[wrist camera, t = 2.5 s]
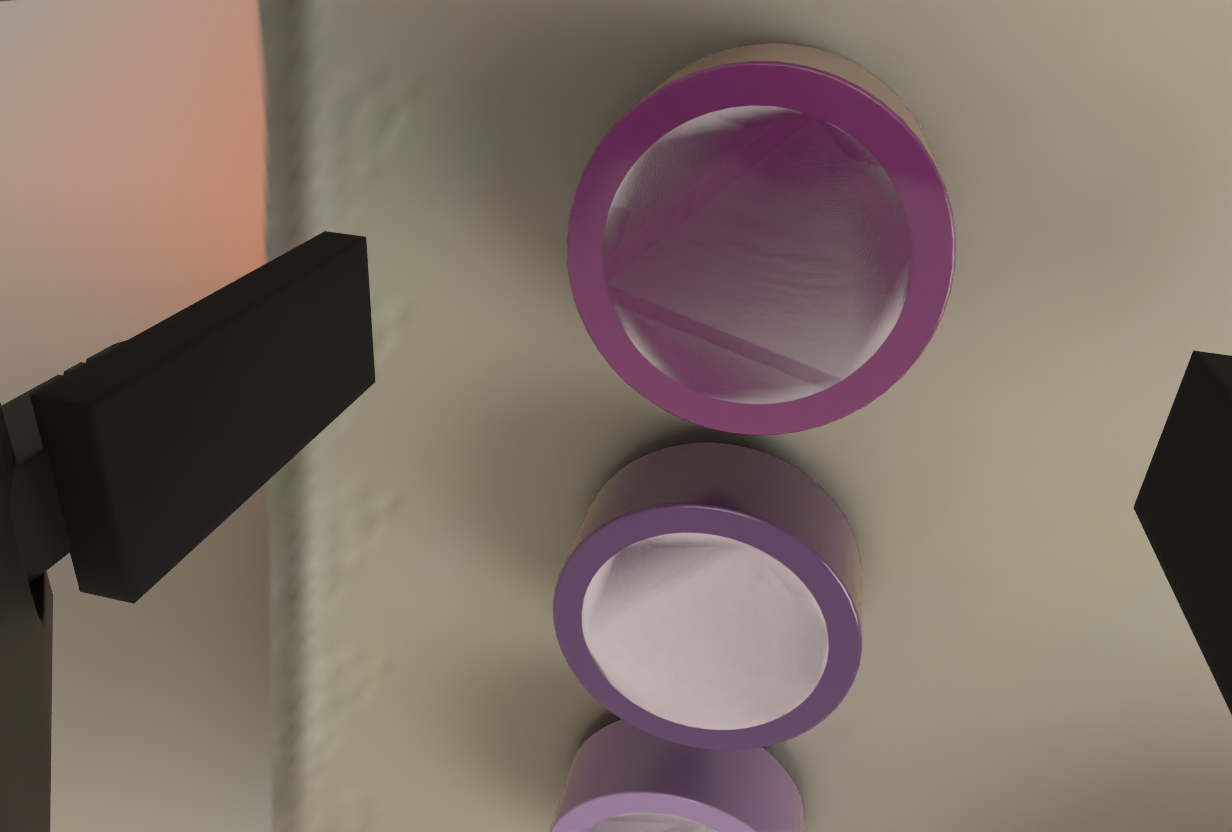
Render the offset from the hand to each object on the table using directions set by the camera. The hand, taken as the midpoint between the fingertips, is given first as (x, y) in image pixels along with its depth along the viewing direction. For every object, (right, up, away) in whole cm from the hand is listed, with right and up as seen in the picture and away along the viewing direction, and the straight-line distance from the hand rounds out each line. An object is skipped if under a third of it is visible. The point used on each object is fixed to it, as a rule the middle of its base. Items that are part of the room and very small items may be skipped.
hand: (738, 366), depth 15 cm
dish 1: (+2, +4, +8) cm, 9 cm away
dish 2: (0, -13, +17) cm, 22 cm away
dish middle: (+1, -5, +12) cm, 13 cm away
